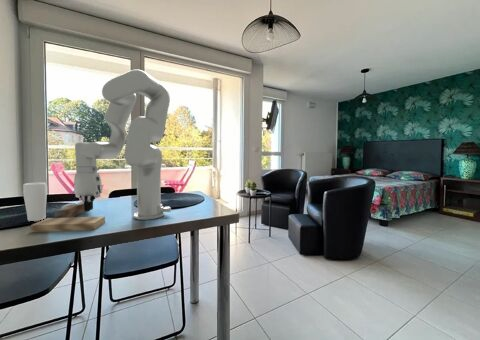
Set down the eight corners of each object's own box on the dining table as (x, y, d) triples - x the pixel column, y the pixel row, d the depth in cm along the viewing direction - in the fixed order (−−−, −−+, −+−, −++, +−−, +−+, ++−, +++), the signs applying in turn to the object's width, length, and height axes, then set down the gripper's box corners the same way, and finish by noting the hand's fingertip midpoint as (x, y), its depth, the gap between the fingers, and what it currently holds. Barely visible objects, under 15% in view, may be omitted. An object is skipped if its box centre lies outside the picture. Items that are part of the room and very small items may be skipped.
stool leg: (60, 222, 83) (60, 211, 83) (52, 222, 83) (52, 211, 82) (90, 210, 100) (89, 201, 100) (83, 209, 100) (83, 201, 100)
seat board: (106, 221, 85) (106, 215, 85) (94, 229, 76) (94, 223, 76) (50, 223, 82) (49, 217, 82) (31, 232, 73) (30, 225, 73)
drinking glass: (33, 223, 82) (31, 185, 80) (20, 221, 83) (17, 184, 82) (52, 218, 88) (50, 182, 87) (39, 216, 90) (37, 181, 88)
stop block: (75, 211, 98) (74, 203, 97) (68, 215, 93) (67, 206, 93) (69, 212, 97) (68, 203, 97) (62, 215, 92) (61, 206, 92)
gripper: (108, 169, 98) (110, 208, 100) (77, 169, 99) (79, 207, 100) (97, 171, 91) (99, 212, 92) (63, 170, 91) (65, 212, 93)
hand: (88, 210), depth 96 cm, fingers closed
